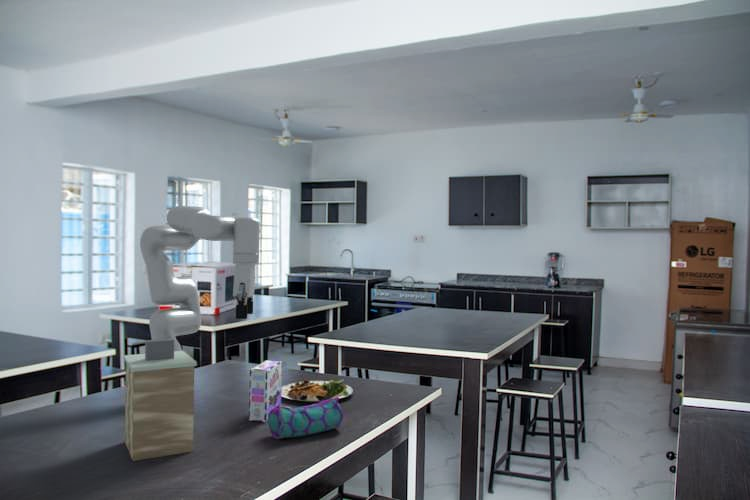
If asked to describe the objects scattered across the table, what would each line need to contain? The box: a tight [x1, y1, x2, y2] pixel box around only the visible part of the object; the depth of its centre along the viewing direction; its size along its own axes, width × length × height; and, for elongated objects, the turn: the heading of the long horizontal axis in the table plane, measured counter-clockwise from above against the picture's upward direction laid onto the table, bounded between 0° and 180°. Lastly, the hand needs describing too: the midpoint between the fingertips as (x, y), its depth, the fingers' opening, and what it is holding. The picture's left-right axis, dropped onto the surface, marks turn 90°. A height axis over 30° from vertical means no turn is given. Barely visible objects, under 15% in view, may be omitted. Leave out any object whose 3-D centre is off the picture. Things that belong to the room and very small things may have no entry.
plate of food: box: [281, 378, 354, 403], centre depth 213 cm, size 28×28×6 cm
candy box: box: [248, 359, 283, 423], centre depth 188 cm, size 14×6×16 cm, turn 168°
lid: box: [123, 339, 198, 372], centre depth 159 cm, size 16×16×7 cm
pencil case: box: [267, 397, 344, 440], centre depth 173 cm, size 21×9×10 cm, turn 123°
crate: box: [124, 362, 195, 462], centre depth 159 cm, size 15×15×23 cm
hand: (244, 316), depth 175 cm, fingers open, 9 cm apart
